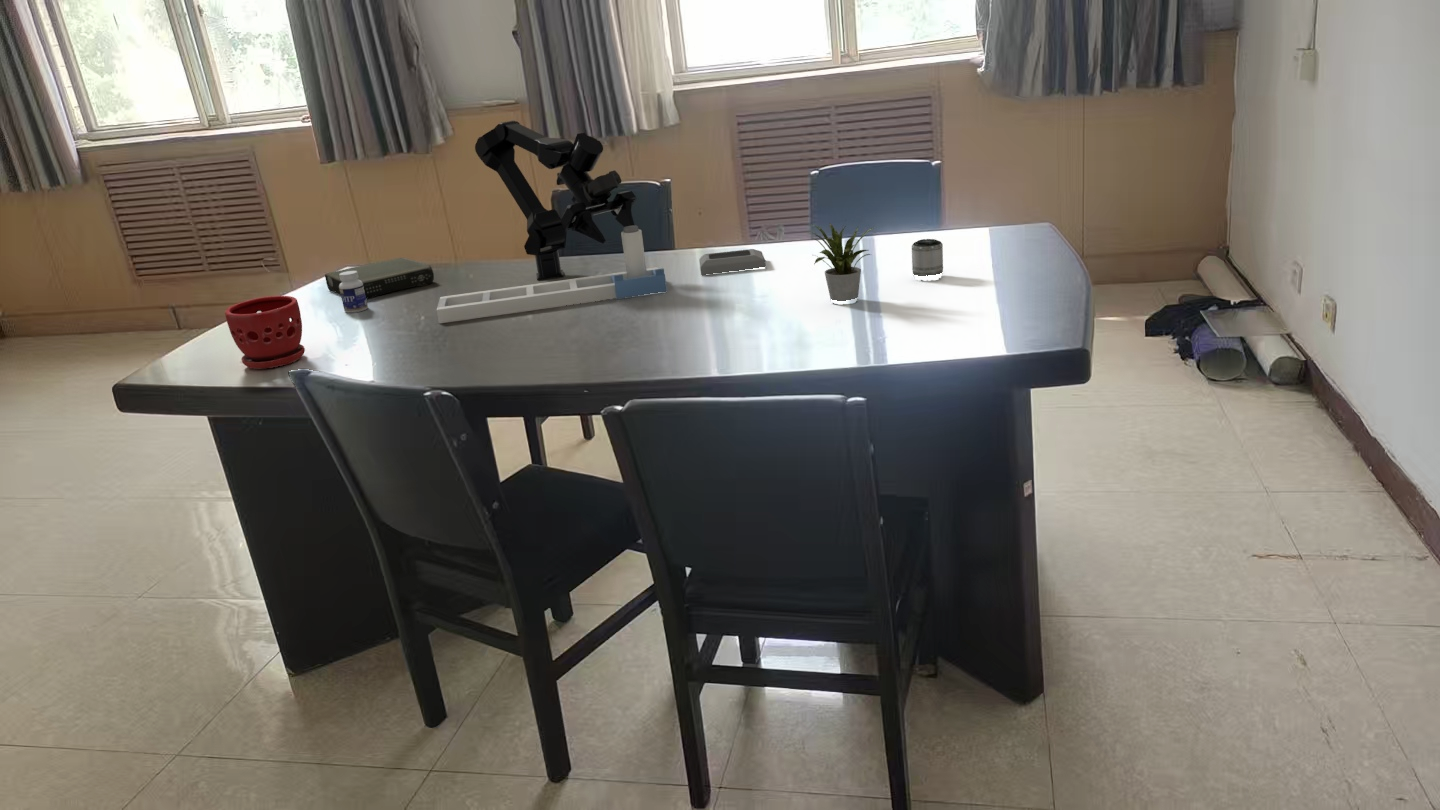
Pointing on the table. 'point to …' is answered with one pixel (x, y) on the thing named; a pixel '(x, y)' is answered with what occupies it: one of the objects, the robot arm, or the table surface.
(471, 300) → the white and blue ladder
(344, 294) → the pill bottle
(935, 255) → the camera lens
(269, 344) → the plant pot
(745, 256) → the gray box with screen
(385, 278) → the network switch
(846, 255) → the house plant
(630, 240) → the white capped cylinder
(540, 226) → the robot arm
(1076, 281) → the table surface
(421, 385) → the table surface
